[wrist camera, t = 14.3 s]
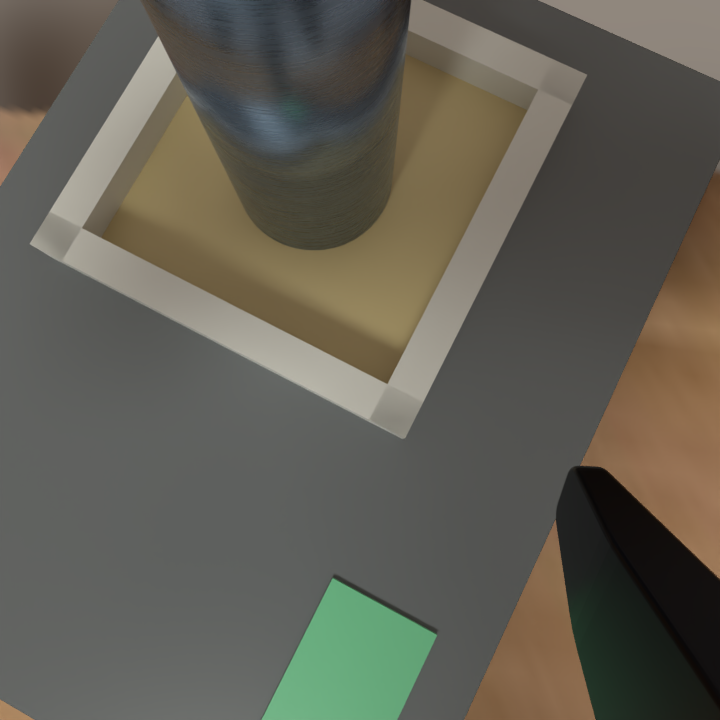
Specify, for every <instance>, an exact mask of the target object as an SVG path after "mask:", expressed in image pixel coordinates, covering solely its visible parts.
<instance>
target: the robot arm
mask: <svg viewBox="0 0 720 720" xmlns="http://www.w3.org/2000/svg"><path fill="white" fill-rule="evenodd" d="M556 524H557V531H558V538H559V545H560V551H561V558H562V565H563V572H564V578H565V585H566V592H567V598H568V605H569V612H570V618H571V624H572V630H573V634H574V638H575V643H576V647H577V651H578V655H579V658H580V662H581V666H582V670H583V673H584V677H585V681H586V685H587V689H588V692H589V696H590V700H591V704H592V707H593V711H594V715H595V719H596V720H720V579H719V578H718V577H717V576H716V575H715V574H714V573H713V572H712V571H711V570H710V569H709V568H708V567H707V566H706V565H704V564H703V563H702V562H701V561H700V560H699V559H698V558H697V557H696V556H695V555H694V554H693V553H692V552H691V551H690V550H689V549H688V548H687V547H686V546H685V545H684V544H683V543H682V542H681V541H680V540H679V539H678V538H676V537H675V536H674V535H673V534H672V533H671V532H670V531H669V530H668V529H667V528H666V527H665V526H664V525H663V524H662V523H661V522H660V521H659V520H658V519H657V518H656V517H655V516H654V515H653V514H652V513H651V512H649V511H648V510H647V509H646V508H645V507H644V506H643V505H642V504H641V503H640V502H639V501H638V500H637V499H636V498H635V497H634V496H633V495H632V494H631V493H630V492H629V491H628V490H627V489H626V488H625V487H624V486H622V485H621V484H620V483H619V482H618V481H617V480H616V479H615V478H614V477H613V476H612V475H611V474H610V473H609V472H608V471H607V470H605V469H603V468H601V467H592V466H574V467H572V468H571V469H570V470H569V472H568V474H567V477H566V480H565V483H564V486H563V489H562V492H561V495H560V498H559V501H558V504H557V508H556Z"/></svg>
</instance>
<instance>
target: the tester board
mask: <svg viewBox="0 0 720 720" xmlns="http://www.w3.org/2000/svg"><path fill="white" fill-rule="evenodd" d="M719 160H720V81H718V80H715V79H713V78H711V77H709V76H706V75H704V74H702V73H700V72H697V71H695V70H693V69H691V68H689V67H686V66H684V65H682V64H679V63H677V62H675V61H673V60H671V59H668V58H666V57H664V56H661V55H659V54H657V53H655V52H653V51H650V50H648V49H646V48H644V47H641V46H639V45H637V44H635V43H632V42H630V41H628V40H626V39H623V38H621V37H619V36H617V35H614V34H612V33H610V32H608V31H606V30H603V29H601V28H599V27H596V26H594V25H592V24H590V23H587V22H585V21H583V20H581V19H578V18H576V17H574V16H572V15H570V14H567V13H565V12H563V11H561V10H558V9H556V8H554V7H551V6H549V5H547V4H545V3H543V2H540V1H538V0H411V8H410V17H409V27H408V36H407V46H406V55H405V65H404V74H403V84H402V94H401V103H400V113H399V122H398V132H397V141H396V151H395V160H394V170H393V179H392V187H391V192H390V196H389V199H388V202H387V204H386V206H385V208H384V210H383V212H382V214H381V215H380V216H379V218H378V219H377V221H376V222H375V223H374V224H373V225H372V226H371V227H370V228H369V229H368V230H367V231H366V232H365V233H363V234H362V235H361V236H359V237H358V238H356V239H354V240H353V241H351V242H348V243H346V244H344V245H341V246H338V247H335V248H330V249H325V250H302V249H297V248H292V247H289V246H286V245H283V244H281V243H279V242H277V241H275V240H273V239H272V238H270V237H269V236H267V235H266V234H265V233H263V232H262V231H261V230H260V229H259V228H258V227H257V226H256V225H255V224H254V223H253V222H252V220H251V219H250V217H249V216H248V214H247V213H246V211H245V209H244V207H243V205H242V203H241V201H240V199H239V197H238V195H237V193H236V191H235V189H234V187H233V185H232V183H231V181H230V179H229V177H228V175H227V173H226V171H225V169H224V167H223V165H222V163H221V161H220V159H219V157H218V155H217V153H216V151H215V149H214V147H213V145H212V143H211V141H210V139H209V137H208V135H207V133H206V131H205V129H204V127H203V125H202V123H201V121H200V119H199V117H198V115H197V113H196V111H195V109H194V107H193V105H192V103H191V101H190V99H189V97H188V95H187V93H186V91H185V89H184V87H183V85H182V83H181V81H180V79H179V77H178V75H177V73H176V71H175V69H174V67H173V65H172V63H171V61H170V59H169V57H168V55H167V53H166V51H165V49H164V46H163V44H162V42H161V40H160V38H159V36H158V34H157V32H156V30H155V28H154V26H153V24H152V22H151V20H150V18H149V16H148V14H147V12H146V10H145V8H144V6H143V4H142V2H141V0H119V1H118V2H117V4H116V5H115V7H114V9H113V10H112V12H111V13H110V15H109V17H108V18H107V20H106V21H105V23H104V24H103V26H102V27H101V29H100V31H99V33H98V34H97V35H96V37H95V39H94V40H93V42H92V43H91V45H90V46H89V48H88V50H87V51H86V53H85V54H84V56H83V57H82V59H81V61H80V62H79V64H78V65H77V67H76V69H75V70H74V72H73V73H72V75H71V76H70V78H69V79H68V81H67V83H66V84H65V86H64V87H63V89H62V91H61V92H60V94H59V95H58V97H57V98H56V100H55V101H54V103H53V105H52V106H51V108H50V109H49V111H48V112H47V114H46V116H45V117H44V119H43V120H42V122H41V123H40V125H39V127H38V128H37V130H36V131H35V133H34V134H33V136H32V138H31V139H30V141H29V142H28V144H27V145H26V147H25V149H24V150H23V152H22V153H21V155H20V156H19V158H18V160H17V161H16V163H15V164H14V166H13V167H12V169H11V171H10V172H9V174H8V175H7V177H6V178H5V180H4V182H3V183H2V185H1V186H0V699H1V700H2V701H4V702H6V703H7V704H9V705H11V706H12V707H14V708H16V709H18V710H19V711H21V712H23V713H24V714H26V715H28V716H29V717H31V718H33V719H35V720H464V718H465V716H466V714H467V712H468V710H469V708H470V705H471V703H472V701H473V699H474V697H475V694H476V692H477V690H478V688H479V686H480V683H481V681H482V679H483V677H484V675H485V672H486V670H487V668H488V666H489V664H490V661H491V659H492V657H493V655H494V653H495V651H496V648H497V646H498V644H499V642H500V640H501V637H502V635H503V633H504V631H505V629H506V626H507V624H508V622H509V620H510V618H511V615H512V613H513V611H514V609H515V607H516V605H517V602H518V600H519V598H520V596H521V594H522V591H523V589H524V587H525V585H526V583H527V580H528V578H529V576H530V574H531V572H532V569H533V567H534V565H535V563H536V561H537V559H538V556H539V554H540V552H541V550H542V548H543V545H544V543H545V541H546V539H547V537H548V534H549V532H550V530H551V528H552V526H553V523H554V521H555V519H556V508H557V504H558V501H559V498H560V495H561V492H562V489H563V486H564V483H565V480H566V477H567V474H568V472H569V470H570V469H571V468H572V467H574V466H580V464H581V462H582V460H583V458H584V456H585V453H586V451H587V449H588V447H589V445H590V442H591V440H592V438H593V436H594V434H595V431H596V429H597V427H598V425H599V423H600V420H601V418H602V416H603V414H604V412H605V410H606V407H607V405H608V403H609V401H610V399H611V396H612V394H613V392H614V390H615V388H616V385H617V383H618V381H619V379H620V377H621V374H622V372H623V370H624V368H625V366H626V363H627V361H628V359H629V357H630V355H631V353H632V350H633V348H634V346H635V344H636V342H637V339H638V337H639V335H640V333H641V331H642V328H643V326H644V324H645V322H646V320H647V317H648V315H649V313H650V311H651V309H652V307H653V304H654V302H655V300H656V298H657V296H658V293H659V291H660V289H661V287H662V285H663V282H664V280H665V278H666V276H667V274H668V271H669V269H670V267H671V265H672V263H673V261H674V258H675V256H676V254H677V252H678V250H679V247H680V245H681V243H682V241H683V239H684V236H685V234H686V232H687V230H688V228H689V225H690V223H691V221H692V219H693V217H694V214H695V212H696V210H697V208H698V206H699V204H700V201H701V199H702V197H703V195H704V193H705V190H706V188H707V186H708V184H709V182H710V179H711V177H712V175H713V173H714V171H715V168H716V166H717V164H718V162H719Z"/></svg>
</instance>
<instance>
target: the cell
mask: <svg viewBox="0 0 720 720" xmlns="http://www.w3.org/2000/svg"><path fill="white" fill-rule="evenodd" d="M141 2H142V4H143V6H144V8H145V10H146V12H147V14H148V16H149V18H150V20H151V22H152V24H153V26H154V28H155V30H156V32H157V34H158V36H159V38H160V40H161V42H162V44H163V46H164V49H165V51H166V53H167V55H168V57H169V59H170V61H171V63H172V65H173V67H174V69H175V71H176V73H177V75H178V77H179V79H180V81H181V83H182V85H183V87H184V89H185V91H186V93H187V95H188V97H189V99H190V101H191V103H192V105H193V107H194V109H195V111H196V113H197V115H198V117H199V119H200V121H201V123H202V125H203V127H204V129H205V131H206V133H207V135H208V137H209V139H210V141H211V143H212V145H213V147H214V149H215V151H216V153H217V155H218V157H219V159H220V161H221V163H222V165H223V167H224V169H225V171H226V173H227V175H228V177H229V179H230V181H231V183H232V185H233V187H234V189H235V191H236V193H237V195H238V197H239V199H240V201H241V203H242V205H243V207H244V209H245V211H246V213H247V214H248V216H249V217H250V219H251V220H252V222H253V223H254V224H255V225H256V226H257V227H258V228H259V229H260V230H261V231H262V232H263V233H265V234H266V235H267V236H269V237H270V238H272V239H273V240H275V241H277V242H279V243H281V244H283V245H286V246H289V247H292V248H297V249H302V250H325V249H330V248H335V247H338V246H341V245H344V244H346V243H348V242H351V241H353V240H354V239H356V238H358V237H359V236H361V235H362V234H363V233H365V232H366V231H367V230H368V229H369V228H370V227H371V226H372V225H373V224H374V223H375V222H376V221H377V219H378V218H379V216H380V215H381V214H382V212H383V210H384V208H385V206H386V204H387V202H388V199H389V196H390V192H391V187H392V179H393V170H394V160H395V151H396V141H397V132H398V122H399V113H400V103H401V94H402V84H403V74H404V65H405V55H406V46H407V36H408V27H409V17H410V8H411V0H141Z"/></svg>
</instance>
